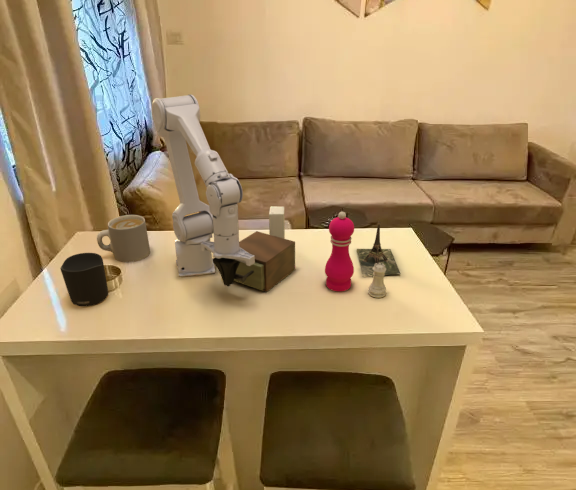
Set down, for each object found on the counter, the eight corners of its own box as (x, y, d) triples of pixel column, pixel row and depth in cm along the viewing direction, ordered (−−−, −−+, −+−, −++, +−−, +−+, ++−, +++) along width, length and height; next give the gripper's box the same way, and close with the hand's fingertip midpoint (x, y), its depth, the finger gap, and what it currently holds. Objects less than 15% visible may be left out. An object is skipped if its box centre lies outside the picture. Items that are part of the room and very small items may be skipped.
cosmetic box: (284, 253, 138) (284, 214, 132) (269, 253, 138) (268, 214, 132) (285, 243, 143) (284, 205, 137) (270, 243, 143) (269, 205, 138)
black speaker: (61, 300, 117) (51, 264, 112) (94, 284, 124) (86, 249, 119) (85, 312, 112) (75, 275, 107) (118, 294, 119) (110, 259, 114)
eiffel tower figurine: (401, 276, 126) (407, 229, 119) (362, 276, 126) (366, 230, 119) (390, 250, 139) (395, 207, 133) (355, 250, 139) (358, 207, 132)
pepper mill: (356, 281, 124) (361, 209, 114) (347, 295, 118) (352, 220, 108) (330, 275, 127) (333, 204, 117) (320, 288, 121) (322, 214, 111)
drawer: (250, 299, 115) (249, 275, 112) (214, 286, 121) (212, 263, 117) (288, 269, 128) (288, 247, 124) (254, 259, 133) (253, 237, 130)
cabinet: (266, 292, 120) (265, 262, 116) (227, 278, 126) (225, 249, 121) (295, 269, 130) (295, 241, 125) (257, 258, 135) (256, 231, 131)
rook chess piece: (387, 290, 120) (390, 262, 116) (384, 299, 116) (387, 271, 112) (369, 287, 121) (372, 259, 117) (366, 296, 118) (368, 268, 114)
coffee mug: (152, 245, 143) (146, 213, 138) (148, 260, 134) (142, 228, 130) (105, 248, 141) (98, 216, 137) (98, 264, 133) (91, 231, 128)
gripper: (190, 230, 110) (194, 282, 116) (240, 245, 103) (242, 299, 109) (211, 220, 115) (214, 270, 121) (259, 234, 108) (260, 287, 114)
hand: (228, 283), depth 116 cm, fingers closed, pressing on drawer
